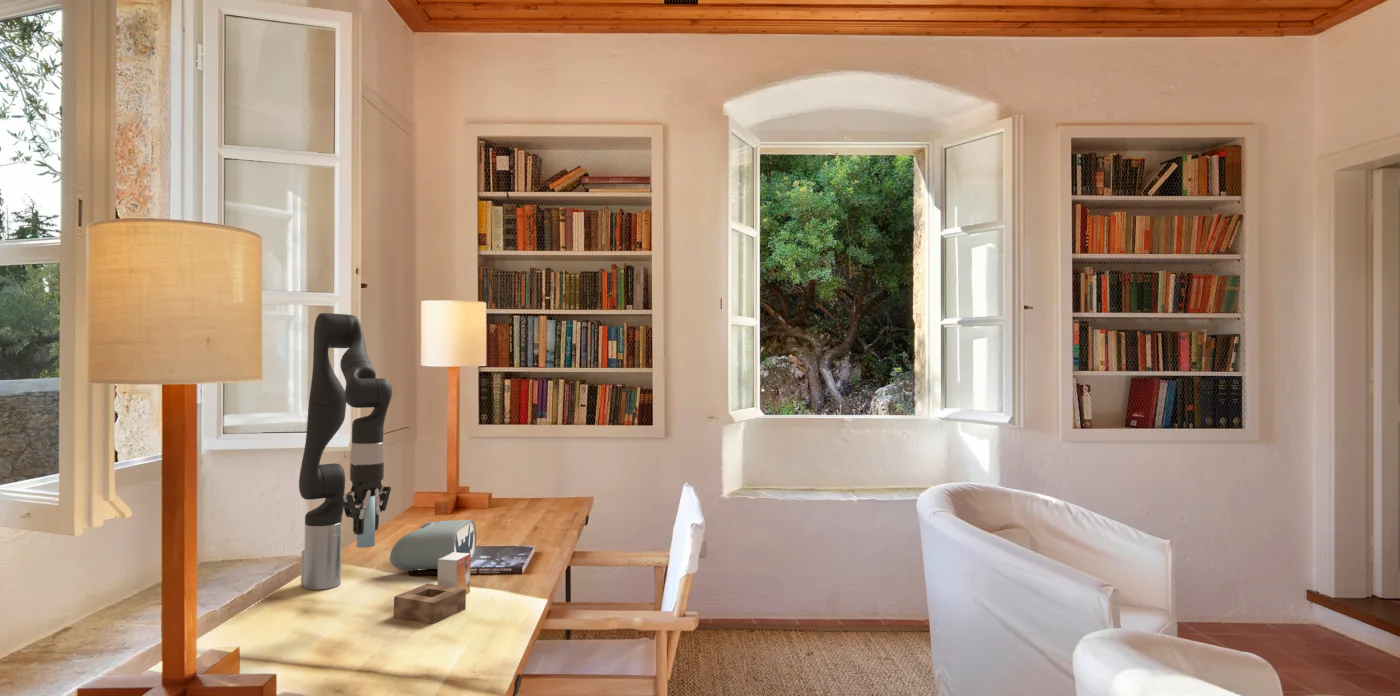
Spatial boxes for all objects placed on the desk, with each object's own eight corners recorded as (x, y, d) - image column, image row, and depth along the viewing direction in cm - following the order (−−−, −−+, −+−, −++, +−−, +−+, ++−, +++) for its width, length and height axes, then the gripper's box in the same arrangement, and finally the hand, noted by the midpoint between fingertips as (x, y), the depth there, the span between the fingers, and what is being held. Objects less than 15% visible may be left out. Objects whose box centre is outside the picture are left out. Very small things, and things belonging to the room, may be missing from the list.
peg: (352, 546, 192) (353, 496, 192) (365, 542, 195) (366, 493, 195) (365, 548, 190) (366, 497, 190) (378, 544, 194) (379, 495, 194)
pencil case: (454, 576, 230) (453, 531, 230) (389, 577, 231) (387, 533, 231) (477, 556, 252) (475, 515, 252) (417, 558, 253) (416, 517, 253)
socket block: (393, 616, 195) (394, 596, 195) (427, 602, 206) (427, 583, 206) (433, 623, 191) (433, 603, 191) (465, 609, 202) (465, 589, 202)
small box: (456, 600, 209) (456, 560, 209) (436, 599, 210) (437, 559, 210) (470, 591, 217) (471, 552, 217) (451, 590, 218) (452, 551, 218)
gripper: (377, 456, 201) (376, 525, 201) (331, 463, 188) (330, 536, 187) (400, 458, 198) (399, 528, 198) (356, 465, 185) (354, 540, 185)
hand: (365, 531), depth 193 cm, fingers closed on peg, 4 cm apart
